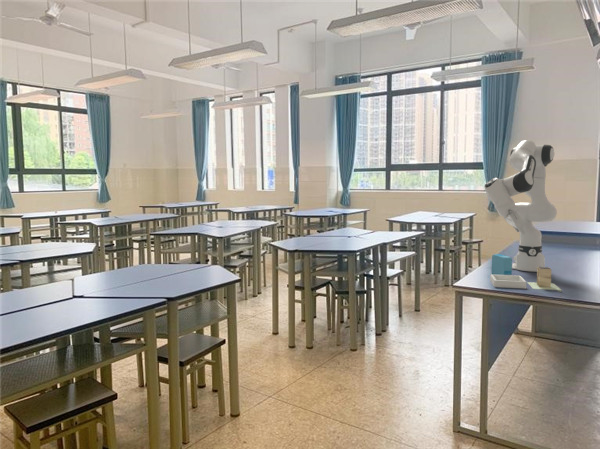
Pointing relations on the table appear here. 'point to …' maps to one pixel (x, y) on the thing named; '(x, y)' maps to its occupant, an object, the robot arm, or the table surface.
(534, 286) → the pad
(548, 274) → the part box
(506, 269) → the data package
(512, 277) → the bin
